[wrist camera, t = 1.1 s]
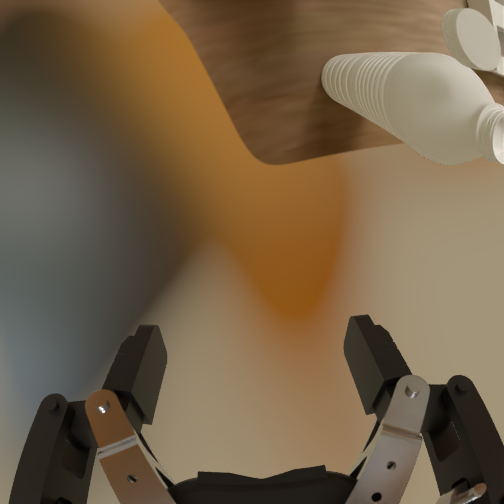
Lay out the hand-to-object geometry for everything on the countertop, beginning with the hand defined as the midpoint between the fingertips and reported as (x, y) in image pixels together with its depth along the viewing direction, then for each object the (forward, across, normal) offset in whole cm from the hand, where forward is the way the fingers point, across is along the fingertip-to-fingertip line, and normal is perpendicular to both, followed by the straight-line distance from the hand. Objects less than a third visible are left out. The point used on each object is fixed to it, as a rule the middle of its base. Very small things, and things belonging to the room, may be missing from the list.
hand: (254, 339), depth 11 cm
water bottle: (+23, -12, -16) cm, 30 cm away
